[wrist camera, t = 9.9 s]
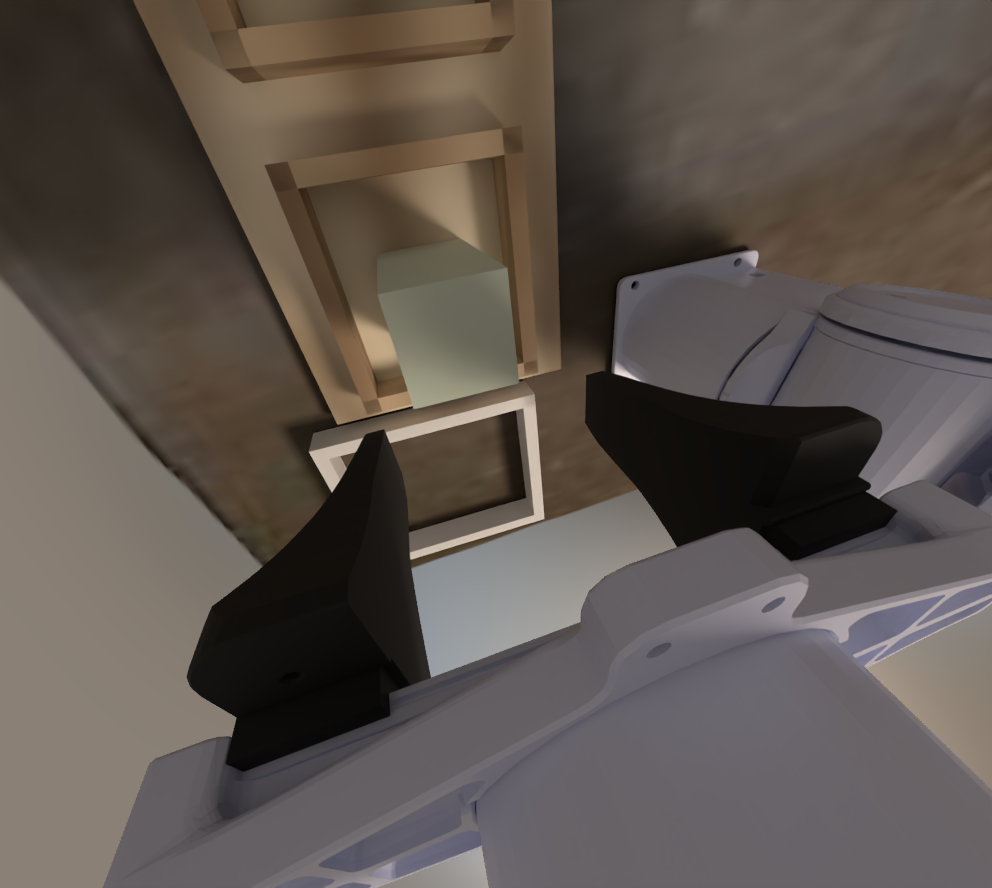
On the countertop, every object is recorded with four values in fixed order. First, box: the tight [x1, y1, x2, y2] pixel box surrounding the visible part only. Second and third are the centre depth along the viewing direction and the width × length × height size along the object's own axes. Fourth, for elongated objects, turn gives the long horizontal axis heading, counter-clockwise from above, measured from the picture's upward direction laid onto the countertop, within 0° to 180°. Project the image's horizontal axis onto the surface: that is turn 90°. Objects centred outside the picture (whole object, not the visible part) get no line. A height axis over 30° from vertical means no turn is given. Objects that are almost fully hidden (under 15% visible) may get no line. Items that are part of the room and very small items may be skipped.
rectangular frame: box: [309, 381, 544, 560], centre depth 26 cm, size 14×12×2 cm
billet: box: [377, 238, 519, 409], centre depth 15 cm, size 4×4×8 cm
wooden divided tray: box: [133, 0, 561, 425], centre depth 14 cm, size 14×26×3 cm, turn 8°
